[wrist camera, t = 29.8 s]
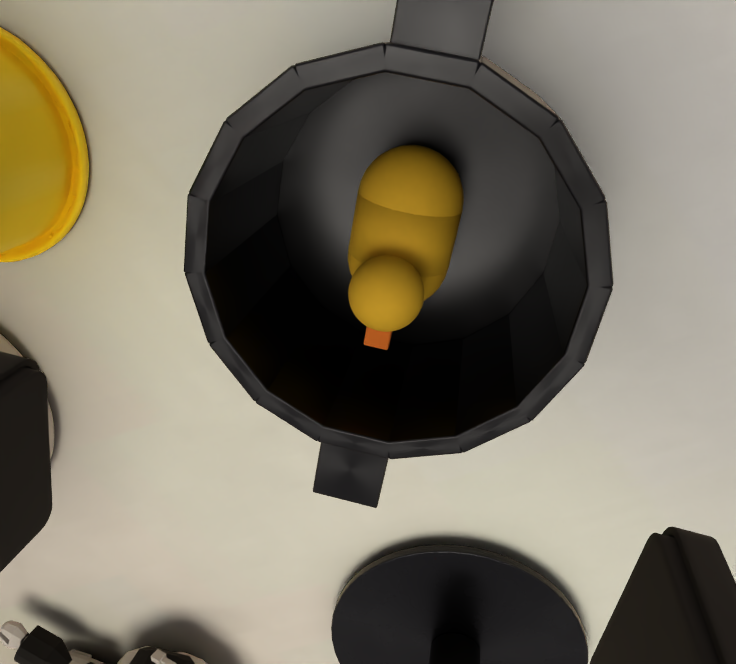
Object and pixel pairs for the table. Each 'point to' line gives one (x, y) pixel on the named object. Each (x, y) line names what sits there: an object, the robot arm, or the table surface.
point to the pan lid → (454, 612)
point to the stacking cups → (37, 154)
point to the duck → (401, 237)
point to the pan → (332, 236)
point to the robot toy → (53, 660)
